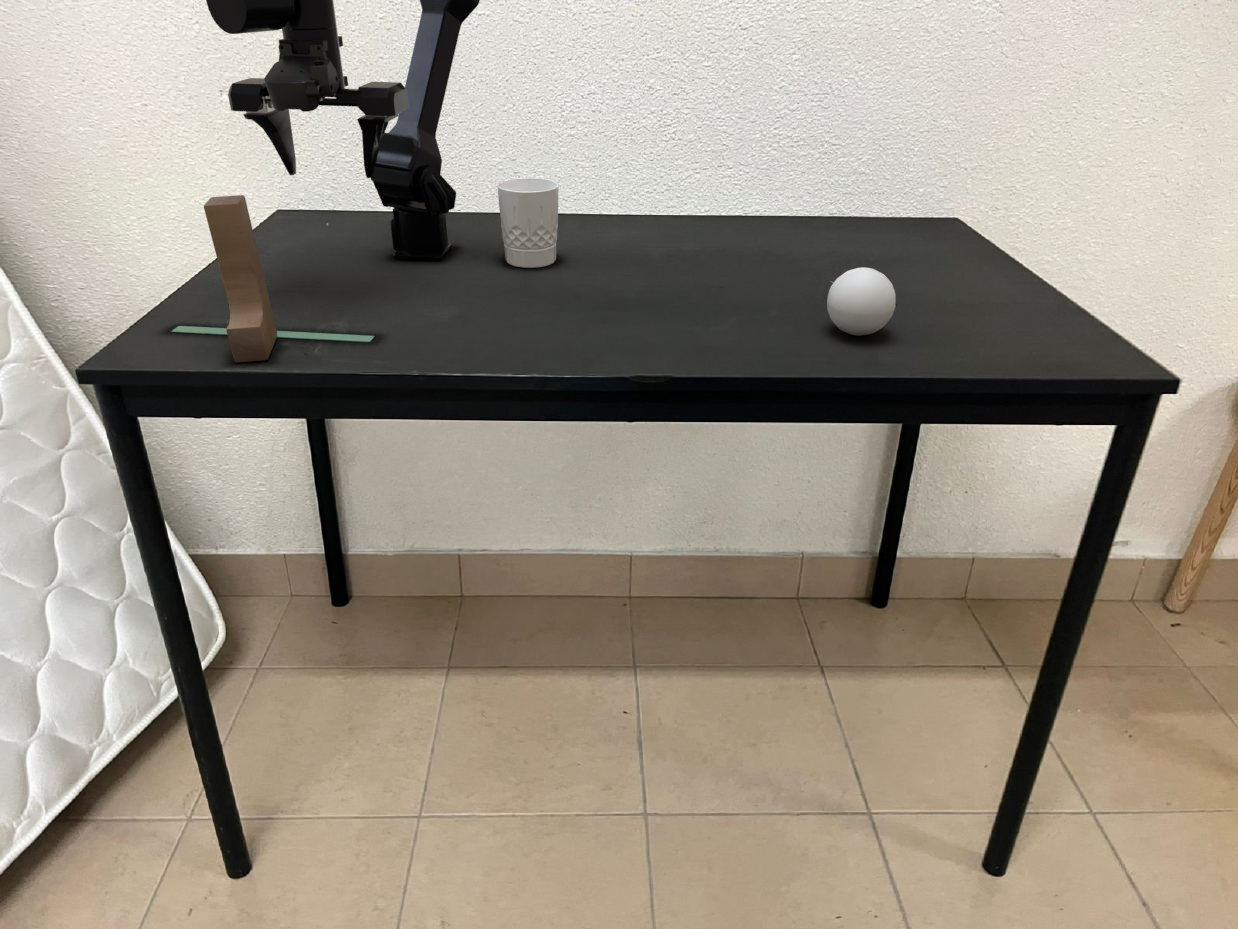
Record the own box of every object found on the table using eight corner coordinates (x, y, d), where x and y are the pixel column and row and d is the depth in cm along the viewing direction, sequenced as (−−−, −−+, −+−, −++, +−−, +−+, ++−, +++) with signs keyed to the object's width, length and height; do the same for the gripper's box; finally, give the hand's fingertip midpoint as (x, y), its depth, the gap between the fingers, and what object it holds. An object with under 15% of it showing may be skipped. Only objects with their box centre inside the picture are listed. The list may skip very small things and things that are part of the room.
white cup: (490, 265, 118) (485, 187, 113) (518, 248, 124) (515, 174, 119) (544, 273, 115) (542, 194, 110) (569, 255, 121) (568, 180, 116)
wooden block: (246, 338, 95) (210, 196, 88) (278, 335, 96) (244, 194, 88) (234, 363, 90) (194, 214, 82) (268, 360, 90) (231, 211, 82)
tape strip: (374, 336, 96) (374, 335, 96) (369, 342, 95) (369, 341, 95) (179, 326, 98) (178, 325, 98) (171, 332, 96) (171, 331, 96)
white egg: (901, 344, 97) (914, 278, 93) (836, 347, 96) (846, 281, 92) (865, 311, 105) (876, 249, 101) (805, 313, 104) (813, 252, 100)
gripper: (188, 32, 90) (221, 189, 98) (368, 36, 89) (387, 196, 97) (239, 23, 100) (265, 167, 107) (402, 27, 98) (416, 172, 106)
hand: (331, 175), depth 104 cm, fingers open, 9 cm apart
